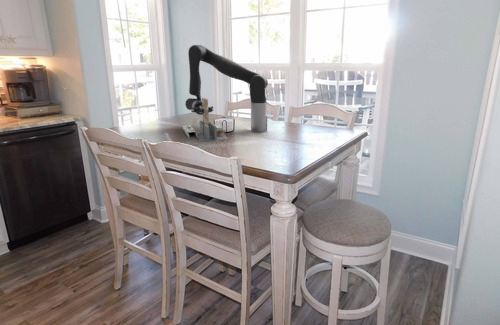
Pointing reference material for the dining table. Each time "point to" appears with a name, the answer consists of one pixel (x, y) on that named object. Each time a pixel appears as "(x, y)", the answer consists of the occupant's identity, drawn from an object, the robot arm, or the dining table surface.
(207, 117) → the brown wooden board
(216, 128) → the offcut
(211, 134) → the rack
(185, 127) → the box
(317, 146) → the dining table surface
